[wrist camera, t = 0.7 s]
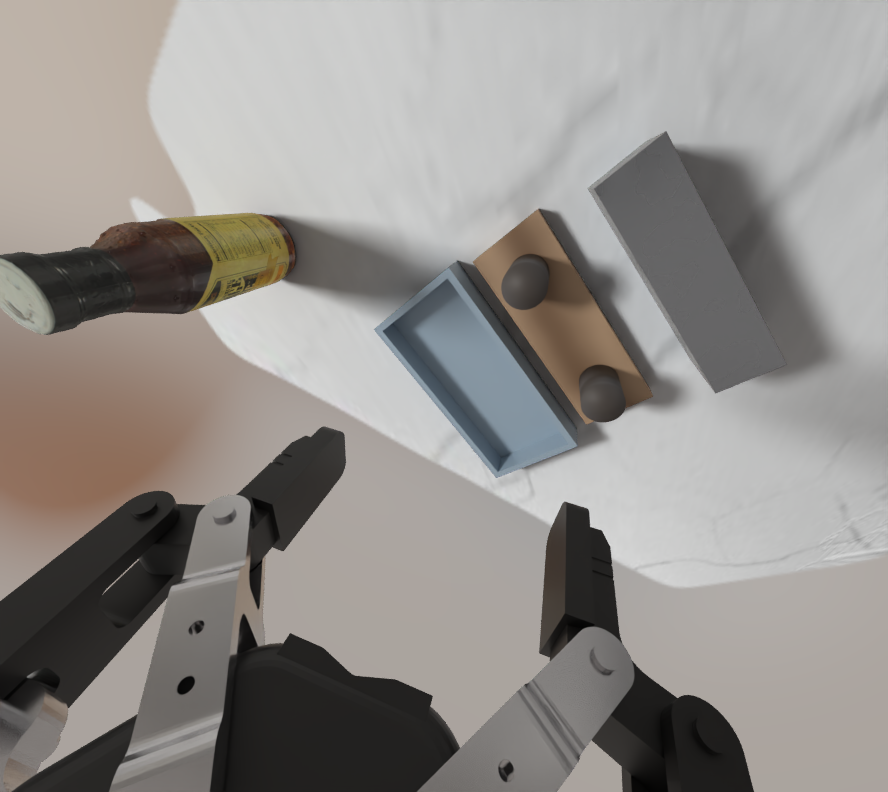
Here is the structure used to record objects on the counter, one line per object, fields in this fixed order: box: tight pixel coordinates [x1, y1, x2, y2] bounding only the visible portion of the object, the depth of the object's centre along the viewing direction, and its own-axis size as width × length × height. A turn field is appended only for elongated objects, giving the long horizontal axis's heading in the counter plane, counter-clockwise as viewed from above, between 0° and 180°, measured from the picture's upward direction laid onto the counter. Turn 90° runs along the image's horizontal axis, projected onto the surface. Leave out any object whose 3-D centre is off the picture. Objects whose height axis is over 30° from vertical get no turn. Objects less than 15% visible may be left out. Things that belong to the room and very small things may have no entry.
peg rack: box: [473, 209, 653, 425], centre depth 28 cm, size 6×18×6 cm, turn 40°
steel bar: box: [588, 132, 787, 393], centre depth 24 cm, size 4×16×6 cm, turn 41°
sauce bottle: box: [0, 213, 296, 335], centre depth 26 cm, size 7×6×20 cm
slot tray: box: [374, 261, 578, 478], centre depth 34 cm, size 9×20×3 cm, turn 40°
